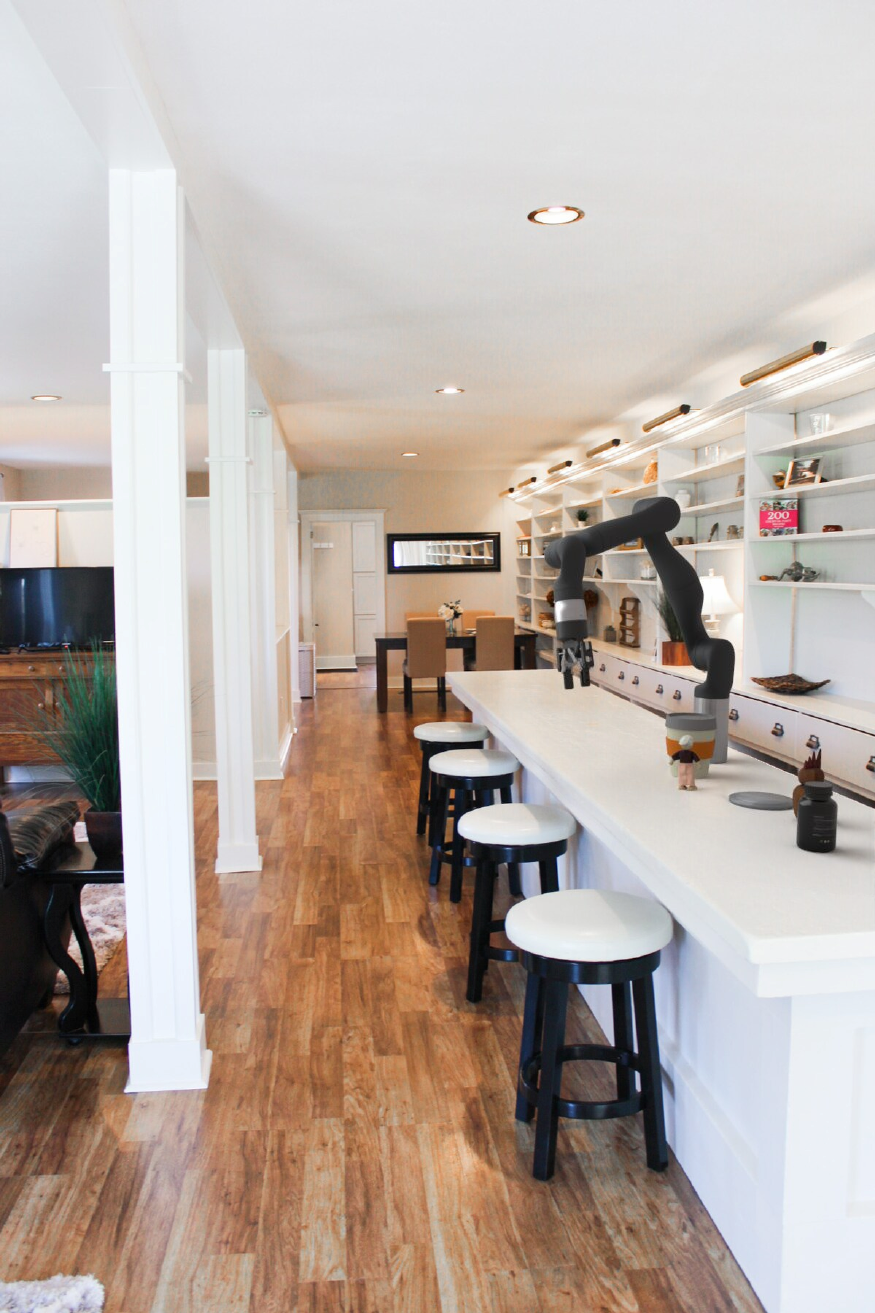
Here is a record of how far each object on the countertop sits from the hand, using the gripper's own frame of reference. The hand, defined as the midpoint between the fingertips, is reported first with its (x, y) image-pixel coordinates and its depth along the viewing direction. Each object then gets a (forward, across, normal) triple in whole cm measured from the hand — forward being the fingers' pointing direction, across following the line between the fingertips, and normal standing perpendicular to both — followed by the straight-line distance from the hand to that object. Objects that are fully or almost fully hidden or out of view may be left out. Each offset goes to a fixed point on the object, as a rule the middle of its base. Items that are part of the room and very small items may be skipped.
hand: (577, 688), depth 222 cm
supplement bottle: (+35, -56, -17) cm, 68 cm away
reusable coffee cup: (+24, +5, -31) cm, 40 cm away
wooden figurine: (+32, -40, -29) cm, 59 cm away
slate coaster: (+29, -24, -30) cm, 48 cm away
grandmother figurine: (+26, -7, -22) cm, 35 cm away
